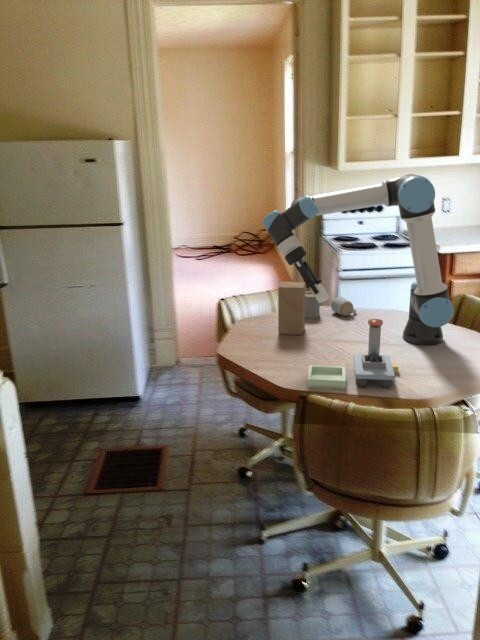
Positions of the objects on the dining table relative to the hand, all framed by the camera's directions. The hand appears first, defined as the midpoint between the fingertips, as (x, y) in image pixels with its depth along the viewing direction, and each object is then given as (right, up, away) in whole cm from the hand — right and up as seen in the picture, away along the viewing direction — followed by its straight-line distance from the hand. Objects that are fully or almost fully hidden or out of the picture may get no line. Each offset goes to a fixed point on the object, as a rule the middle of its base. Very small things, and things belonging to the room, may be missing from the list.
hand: (325, 300), depth 201 cm
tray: (-2, -27, -15) cm, 31 cm away
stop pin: (+14, -21, -15) cm, 29 cm away
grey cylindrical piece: (+2, -4, +58) cm, 58 cm away
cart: (+15, -26, -14) cm, 33 cm away
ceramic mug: (+18, -4, +58) cm, 61 cm away
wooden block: (-9, -12, +36) cm, 38 cm away
